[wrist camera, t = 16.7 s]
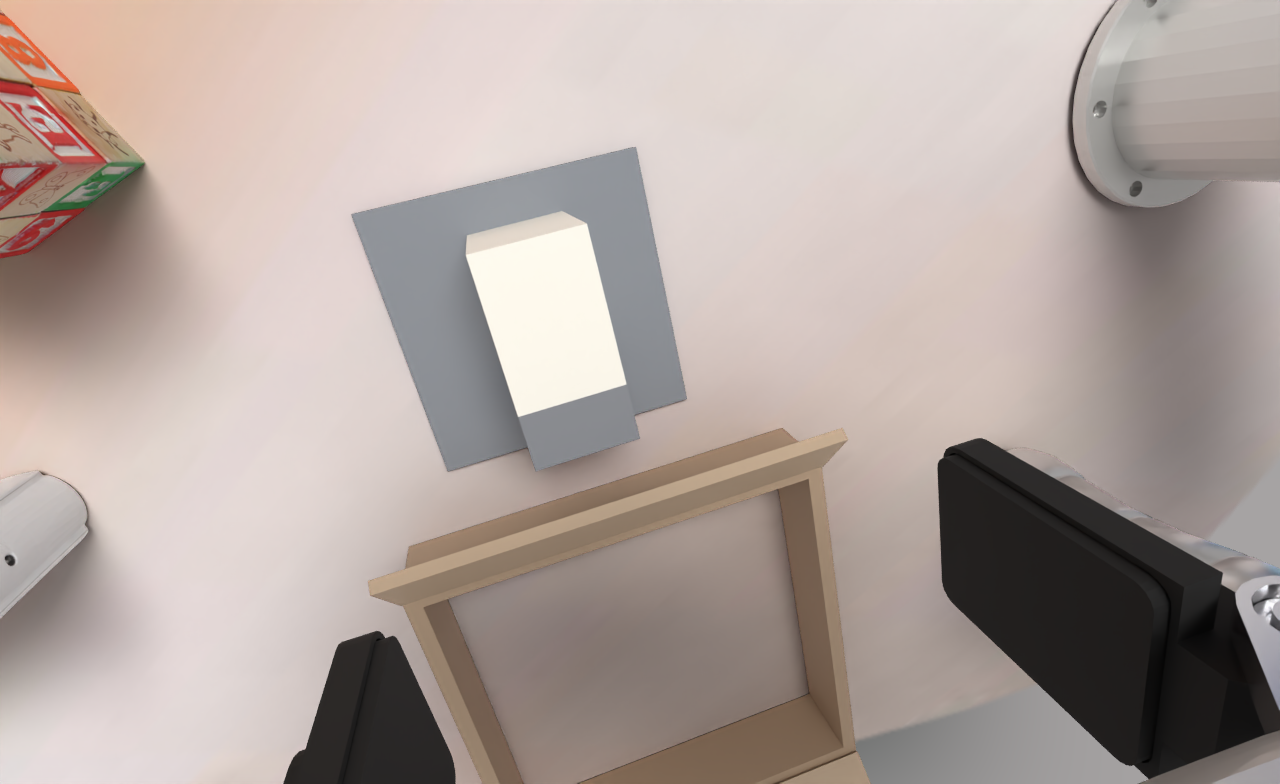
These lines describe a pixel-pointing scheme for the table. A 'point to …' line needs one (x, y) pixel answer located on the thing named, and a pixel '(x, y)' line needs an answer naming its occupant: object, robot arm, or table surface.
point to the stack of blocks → (48, 146)
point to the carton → (561, 529)
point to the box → (553, 336)
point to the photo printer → (35, 531)
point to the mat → (453, 314)
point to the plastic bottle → (1156, 524)
